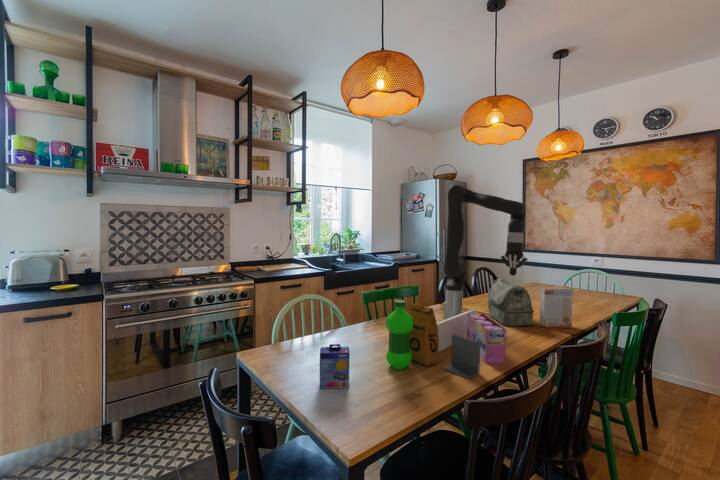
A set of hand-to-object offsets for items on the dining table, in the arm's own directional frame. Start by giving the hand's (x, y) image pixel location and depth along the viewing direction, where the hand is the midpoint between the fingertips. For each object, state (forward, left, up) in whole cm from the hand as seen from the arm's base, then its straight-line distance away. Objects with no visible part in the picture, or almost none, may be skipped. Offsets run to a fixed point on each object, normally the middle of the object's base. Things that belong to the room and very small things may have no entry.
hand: (512, 275), depth 169 cm
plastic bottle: (-13, -76, -28) cm, 82 cm away
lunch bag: (-8, +17, -29) cm, 34 cm away
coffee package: (-10, -65, -29) cm, 72 cm away
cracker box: (+14, +23, -29) cm, 39 cm away
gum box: (+3, -39, -29) cm, 48 cm away
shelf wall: (-11, -39, -28) cm, 49 cm away
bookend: (+6, -63, -28) cm, 69 cm away
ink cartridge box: (-19, -103, -29) cm, 108 cm away
